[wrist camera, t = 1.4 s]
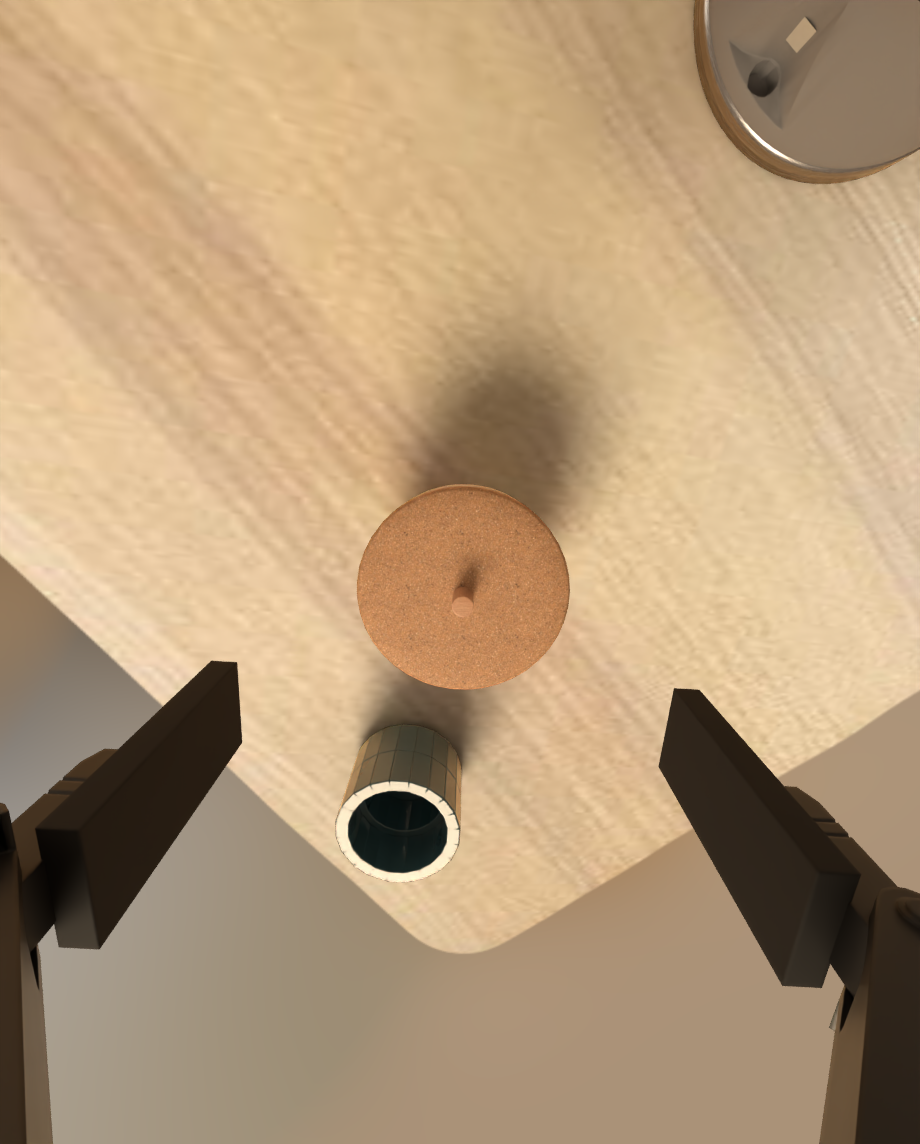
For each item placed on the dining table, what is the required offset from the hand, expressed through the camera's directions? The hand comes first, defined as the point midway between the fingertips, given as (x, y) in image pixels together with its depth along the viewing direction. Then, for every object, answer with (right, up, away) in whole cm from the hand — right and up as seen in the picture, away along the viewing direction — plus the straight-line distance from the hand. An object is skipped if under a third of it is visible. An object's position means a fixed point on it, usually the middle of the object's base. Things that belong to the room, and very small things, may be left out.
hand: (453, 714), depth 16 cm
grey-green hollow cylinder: (-4, -10, +22) cm, 25 cm away
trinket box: (0, +5, +18) cm, 19 cm away
